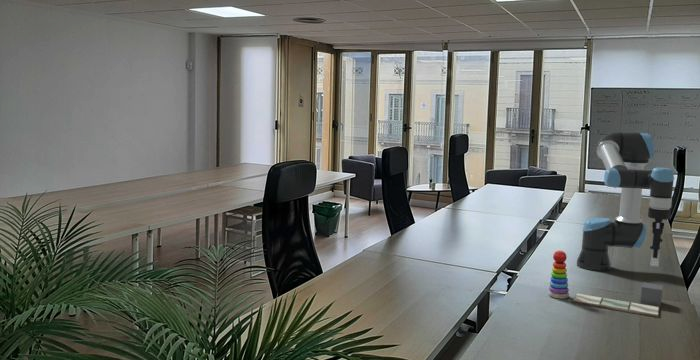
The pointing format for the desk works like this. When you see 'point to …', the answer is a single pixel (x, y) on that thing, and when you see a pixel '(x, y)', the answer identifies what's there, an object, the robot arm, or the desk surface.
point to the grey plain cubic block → (651, 294)
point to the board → (616, 305)
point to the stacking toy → (559, 277)
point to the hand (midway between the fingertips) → (654, 261)
